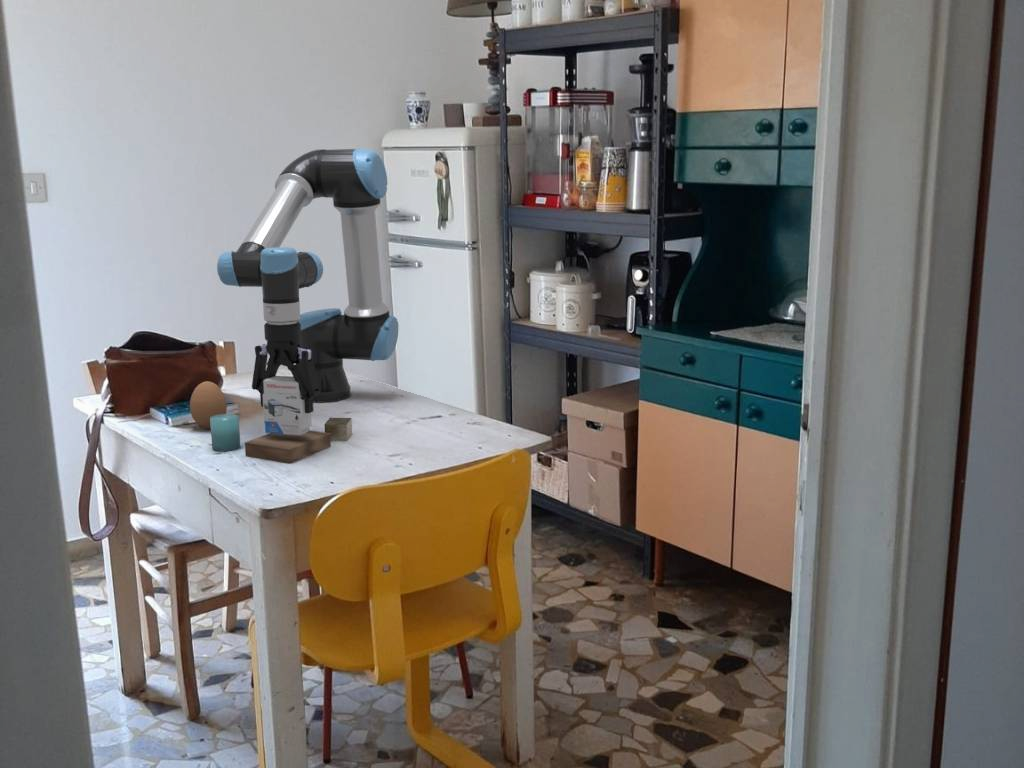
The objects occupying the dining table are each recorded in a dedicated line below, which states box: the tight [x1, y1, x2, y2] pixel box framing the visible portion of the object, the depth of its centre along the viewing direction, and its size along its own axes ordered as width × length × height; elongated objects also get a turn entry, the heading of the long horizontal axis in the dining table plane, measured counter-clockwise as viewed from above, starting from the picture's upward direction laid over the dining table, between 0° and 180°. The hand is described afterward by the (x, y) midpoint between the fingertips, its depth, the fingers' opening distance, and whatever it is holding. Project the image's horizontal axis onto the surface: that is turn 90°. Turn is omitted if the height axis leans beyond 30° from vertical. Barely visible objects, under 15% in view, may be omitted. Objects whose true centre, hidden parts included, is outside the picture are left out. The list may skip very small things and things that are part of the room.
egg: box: [189, 380, 228, 430], centre depth 231 cm, size 8×8×11 cm
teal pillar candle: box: [210, 413, 241, 453], centre depth 215 cm, size 6×6×7 cm
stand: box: [244, 429, 332, 464], centre depth 213 cm, size 14×12×3 cm
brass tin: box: [324, 417, 353, 442], centre depth 224 cm, size 6×5×4 cm
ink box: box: [263, 375, 311, 435], centre depth 211 cm, size 9×5×12 cm, turn 78°
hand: (287, 424), depth 212 cm, fingers closed on ink box, 9 cm apart
